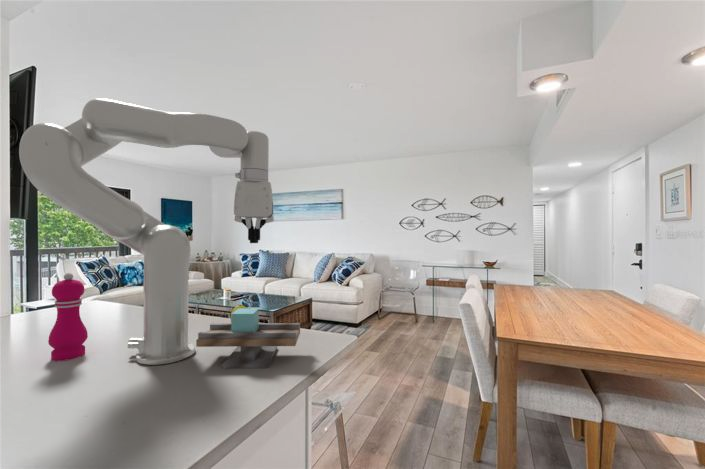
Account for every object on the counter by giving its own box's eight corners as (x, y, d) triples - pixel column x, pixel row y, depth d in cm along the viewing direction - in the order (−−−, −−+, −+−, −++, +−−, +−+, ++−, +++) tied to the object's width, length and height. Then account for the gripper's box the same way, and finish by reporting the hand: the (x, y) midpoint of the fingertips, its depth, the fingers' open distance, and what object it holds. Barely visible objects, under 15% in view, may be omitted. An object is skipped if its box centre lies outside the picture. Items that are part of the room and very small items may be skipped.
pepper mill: (94, 353, 82) (94, 272, 82) (58, 364, 76) (58, 275, 76) (77, 348, 85) (77, 270, 85) (41, 358, 79) (41, 273, 79)
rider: (231, 335, 78) (231, 313, 78) (238, 328, 83) (238, 308, 83) (253, 335, 78) (253, 313, 78) (258, 328, 83) (258, 308, 83)
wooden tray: (194, 368, 74) (194, 336, 74) (214, 349, 86) (214, 321, 86) (294, 367, 75) (294, 335, 75) (300, 348, 87) (300, 321, 87)
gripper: (222, 174, 90) (222, 243, 90) (279, 175, 90) (278, 243, 91) (231, 179, 97) (231, 242, 97) (283, 180, 98) (283, 242, 98)
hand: (254, 242), depth 94 cm, fingers closed
